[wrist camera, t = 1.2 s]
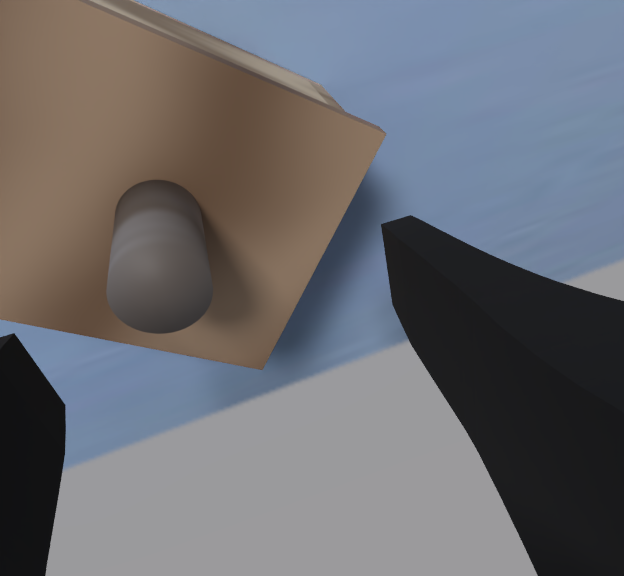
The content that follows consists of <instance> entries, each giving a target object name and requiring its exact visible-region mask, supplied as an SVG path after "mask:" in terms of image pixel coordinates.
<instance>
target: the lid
mask: <svg viewBox="0 0 624 576" xmlns="http://www.w3.org/2000/svg"><path fill="white" fill-rule="evenodd" d="M385 136H386V133H385V132H384V131H383V130H382V129H381V128H380V127H379V126H376V125H374V124H372V123H370V122H367V121H365V120H363V119H360V118H358V117H356V116H353V115H351V114H349V113H347V112H344V111H342V110H340V109H337V108H335V107H333V106H331V105H328V104H326V103H324V102H321V101H319V100H317V99H315V98H312V97H310V96H308V95H305V94H303V93H301V92H299V91H296V90H294V89H292V88H289V87H287V86H285V85H283V84H280V83H278V82H276V81H273V80H271V79H269V78H266V77H264V76H262V75H260V74H257V73H255V72H253V71H250V70H248V69H246V68H244V67H241V66H239V65H237V64H234V63H232V62H230V61H228V60H225V59H223V58H221V57H218V56H216V55H214V54H212V53H209V52H207V51H205V50H202V49H200V48H198V47H196V46H193V45H191V44H189V43H186V42H184V41H182V40H179V39H177V38H175V37H173V36H170V35H168V34H166V33H163V32H161V31H159V30H157V29H154V28H152V27H150V26H147V25H145V24H143V23H141V22H138V21H136V20H134V19H131V18H129V17H127V16H125V15H122V14H120V13H118V12H115V11H113V10H111V9H109V8H106V7H104V6H102V5H99V4H97V3H95V2H93V1H90V0H0V319H1V320H6V321H12V322H17V323H22V324H27V325H32V326H37V327H43V328H48V329H53V330H58V331H63V332H68V333H74V334H79V335H84V336H89V337H94V338H99V339H105V340H110V341H115V342H120V343H125V344H130V345H136V346H141V347H146V348H151V349H156V350H161V351H167V352H172V353H177V354H182V355H187V356H192V357H198V358H203V359H208V360H213V361H218V362H223V363H229V364H234V365H239V366H244V367H249V368H254V369H260V370H263V368H264V366H265V364H266V362H267V360H268V358H269V356H270V354H271V352H272V351H273V349H274V347H275V345H276V343H277V341H278V339H279V337H280V335H281V333H282V332H283V330H284V328H285V326H286V324H287V322H288V320H289V318H290V316H291V314H292V313H293V311H294V309H295V307H296V305H297V303H298V301H299V299H300V297H301V295H302V294H303V292H304V290H305V288H306V286H307V284H308V282H309V280H310V278H311V276H312V275H313V273H314V271H315V269H316V267H317V265H318V263H319V261H320V259H321V257H322V256H323V254H324V252H325V250H326V248H327V246H328V244H329V242H330V240H331V238H332V237H333V235H334V233H335V231H336V229H337V227H338V225H339V223H340V221H341V219H342V218H343V216H344V214H345V212H346V210H347V208H348V206H349V204H350V202H351V200H352V199H353V197H354V195H355V193H356V191H357V189H358V187H359V185H360V183H361V181H362V180H363V178H364V176H365V174H366V172H367V170H368V168H369V166H370V164H371V162H372V161H373V159H374V157H375V155H376V153H377V151H378V149H379V147H380V145H381V143H382V141H383V140H384V138H385Z"/></svg>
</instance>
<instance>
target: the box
mask: <svg viewBox="0 0 624 576" xmlns="http://www.w3.org/2000/svg"><path fill="white" fill-rule="evenodd" d="M90 1H93V2H95V3H97V4H99V5H102V6H104V7H106V8H109V9H111V10H113V11H115V12H118V13H120V14H122V15H125V16H127V17H129V18H131V19H134V20H136V21H138V22H141V23H143V24H145V25H147V26H150V27H152V28H154V29H157V30H159V31H161V32H163V33H166V34H168V35H170V36H173V37H175V38H177V39H179V40H182V41H184V42H186V43H189V44H191V45H193V46H196V47H198V48H200V49H202V50H205V51H207V52H209V53H212V54H214V55H216V56H218V57H221V58H223V59H225V60H228V61H230V62H232V63H234V64H237V65H239V66H241V67H244V68H246V69H248V70H250V71H253V72H255V73H257V74H260V75H262V76H264V77H266V78H269V79H271V80H273V81H276V82H278V83H280V84H283V85H285V86H287V87H289V88H292V89H294V90H296V91H299V92H301V93H303V94H305V95H308V96H310V97H312V98H315V99H317V100H319V101H321V102H324V103H326V104H328V105H331V106H333V107H335V108H337V109H340V110H342V111H344V110H343V108H342V107H341V106H340V105H339V104H338V103H337V102H336V101H335V100H334V99H333V98H332V97H331V95H330V94H329V93H328V92H327V91H326V90H325V89H324V88H323V87H322V86H321V85H320V84H318V83H316V82H313V81H311V80H309V79H307V78H304V77H302V76H300V75H298V74H296V73H293V72H291V71H289V70H287V69H285V68H282V67H280V66H278V65H276V64H273V63H271V62H269V61H267V60H265V59H262V58H260V57H258V56H256V55H253V54H251V53H249V52H247V51H245V50H242V49H240V48H238V47H236V46H234V45H231V44H229V43H227V42H225V41H222V40H220V39H218V38H216V37H214V36H211V35H209V34H207V33H205V32H203V31H200V30H198V29H196V28H194V27H191V26H189V25H187V24H185V23H183V22H180V21H178V20H176V19H174V18H171V17H169V16H167V15H165V14H163V13H160V12H158V11H156V10H154V9H152V8H149V7H147V6H145V5H143V4H140V3H138V2H136V1H134V0H90ZM344 112H345V111H344Z"/></svg>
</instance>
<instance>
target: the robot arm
mask: <svg viewBox="0 0 624 576" xmlns="http://www.w3.org/2000/svg"><path fill="white" fill-rule="evenodd" d="M381 227H382V234H383V241H384V248H385V255H386V262H387V269H388V276H389V283H390V290H391V297H392V304H393V307H394V309H395V311H396V313H397V315H398V318H399V320H400V322H401V324H402V326H403V328H404V331H405V333H406V335H407V337H408V339H409V341H410V343H411V345H412V347H413V348H414V350H415V351H416V353H417V355H418V356H419V358H420V359H421V361H422V363H423V364H424V366H425V367H426V369H427V370H428V372H429V374H430V375H431V377H432V378H433V380H434V381H435V383H436V385H437V386H438V388H439V389H440V391H441V392H442V394H443V396H444V397H445V399H446V400H447V402H448V403H449V405H450V406H451V408H452V409H453V411H454V412H455V414H456V416H457V417H458V419H459V420H460V422H461V424H462V425H463V426H464V428H465V430H466V431H467V433H468V435H469V437H470V439H471V440H472V442H473V444H474V445H475V447H476V449H477V451H478V453H479V455H480V457H481V458H482V461H483V463H484V465H485V467H486V469H487V471H488V472H489V475H490V477H491V479H492V481H493V483H494V484H495V487H496V488H497V491H498V492H499V495H500V496H501V499H502V500H503V503H504V505H505V507H506V509H507V511H508V513H509V515H510V517H511V520H512V522H513V524H514V526H515V528H516V530H517V532H518V534H519V536H520V538H521V540H522V542H523V545H524V547H525V549H526V551H527V553H528V555H529V558H530V560H531V562H532V564H533V566H534V568H535V570H536V572H537V575H538V576H624V301H621V300H617V299H613V298H609V297H606V296H602V295H598V294H595V293H592V292H589V291H585V290H582V289H579V288H576V287H573V286H569V285H566V284H563V283H560V282H557V281H554V280H551V279H549V278H546V277H543V276H540V275H538V274H535V273H533V272H530V271H528V270H525V269H523V268H520V267H518V266H515V265H513V264H510V263H508V262H506V261H503V260H501V259H499V258H496V257H494V256H492V255H490V254H488V253H485V252H483V251H481V250H479V249H477V248H475V247H473V246H471V245H469V244H467V243H465V242H463V241H461V240H459V239H457V238H455V237H453V236H451V235H449V234H447V233H445V232H443V231H441V230H439V229H437V228H435V227H433V226H431V225H429V224H428V223H426V222H424V221H422V220H420V219H418V218H416V217H413V216H411V215H410V216H407V217H404V218H400V219H397V220H393V221H390V222H387V223H383V224H381ZM65 434H66V424H65V404H64V403H63V401H62V400H61V398H60V397H59V396H58V394H57V393H56V391H55V390H54V388H53V387H52V386H51V384H50V383H49V381H48V380H47V379H46V377H45V376H44V374H43V373H42V372H41V370H40V369H39V367H38V366H37V365H36V363H35V362H34V360H33V359H32V357H31V356H30V355H29V353H28V352H27V350H26V349H25V348H24V346H23V345H22V343H21V342H20V341H19V339H18V338H17V336H16V335H15V334H14V333H13V334H10V335H7V336H3V337H0V576H45V573H46V566H47V560H48V554H49V548H50V541H51V536H52V530H53V524H54V518H55V512H56V506H57V500H58V495H59V488H60V482H61V476H62V469H63V463H64V456H65Z"/></svg>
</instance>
